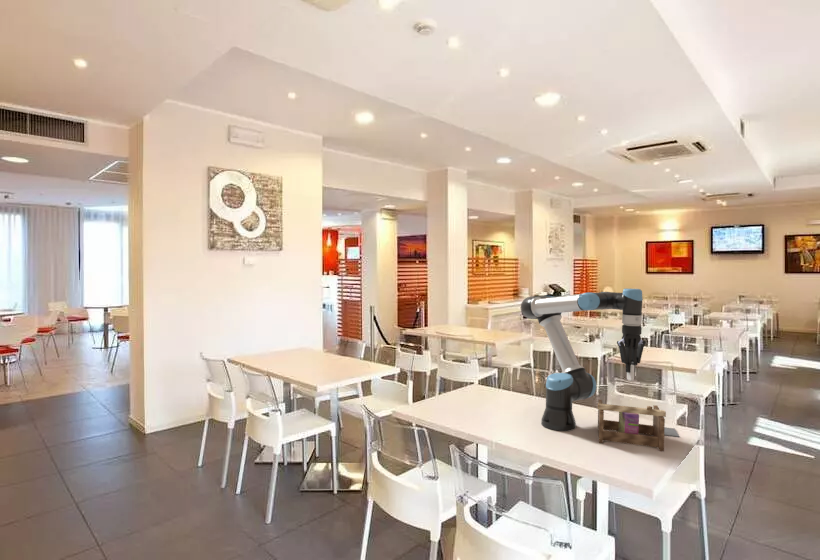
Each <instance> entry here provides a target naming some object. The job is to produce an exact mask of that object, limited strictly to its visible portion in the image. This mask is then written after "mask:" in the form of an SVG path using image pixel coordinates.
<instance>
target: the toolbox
mask: <svg viewBox="0 0 820 560" xmlns="http://www.w3.org/2000/svg"><path fill="white" fill-rule="evenodd" d="M598 403H600V404H604V403H603V399H598V401H597V404H598ZM652 409H656V410H660V408H659V406H658V405H655V404H654V405H653V406H652ZM604 415H605V410H599V409H598V408H597V436H598V443H599V444H604V441H605V442H613V443H614V442H615V443H621V444H629V445H635V446H643V447H644V446H645V447H650V448H651V447H652V448H658V451H659V452H664V451H665V435H664V428H665V427H666V425H665V423H666V419H665V417H662V416H653V415H652V424H645V423H643V424H642V423H639V429H638V434H631V433H623V432H618V429H619V420H618V421H617V420H609V419H608V420H607V419H604V418H605V417H604Z"/></svg>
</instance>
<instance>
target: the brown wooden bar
mask: <svg viewBox="0 0 820 560" xmlns="http://www.w3.org/2000/svg"><path fill="white" fill-rule="evenodd" d="M598 409H599V410H604V411H609V412H618V413H619V412H626V413H635V414H639V415H645V416H646V415H648V416H652V417H653V416H662V417H664V418H665V417H667V416H666V415H667V412H666V410H664V409H659V410H656V409H653V406H650V405H647V406H646V407H645V408H644V407H638V406H637V407H636V406H627V405H617V404H609V403H607V404H606V403H603V404H600V403H598V402H597V410H598Z"/></svg>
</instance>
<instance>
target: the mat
mask: <svg viewBox="0 0 820 560" xmlns="http://www.w3.org/2000/svg"><path fill="white" fill-rule="evenodd" d="M665 436H666V437H667V436H668V437H674V438H680V435H679V433H678V431H677V430H676V428H674V427H673V428H672V427H667V426H665V428H664V437H665Z"/></svg>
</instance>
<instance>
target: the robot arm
mask: <svg viewBox="0 0 820 560" xmlns="http://www.w3.org/2000/svg"><path fill="white" fill-rule="evenodd" d="M643 299H644V298H643V291H642V290H641V289H640V288H623V290H622V292H615V291H600V292H592V291H591V292H584V293H579V294H578V293H577V294H569V295H560V296H552V295H539V296H538V295H537V296H536V295H535V296H533V295H531V296H528V297H525V298H524V299H523V300H522V302H521V303H520V311H521V314H522V315H523V316H524V317H525V318H527V319H530V320H537V322H538V324H539V326H541V327H543V329H544V330H545V332H546V335H547V337H548V339H549V343H550V345H551V348H552V349H553V351H554V354H555V356H556V359H557V362H558V363H559V366H560V369H561V371H562V372H559V373H558V372H556V373H550V374H549V375H548V376H547V377H546V383H545V408H544V411H543V414H542V417H541V420H540V422H541V425H542V426H543V427H545V428H546V429H548V430H554V431H559V432H560V431H561V432H564V431H565V432H567V431H573V430H575V429H576V426H577V423H576V419H575V415H574V413H573V412H574V411H573V402H576V401H579V400H587V399H589V398H591V397H593V396H594V395H595V394H596V391H597V381H596V379H595V377H594V376H593V375H592V374H590V373H588V372H587V371H586V369H585V366H582V365H581V364H580V363H579V360H578V358H577V356H576V354H575V352H574V350H573V347H572V345H571V343H570V340H569V338H568V336H567V333H566V330H565V329H564V327H563V324H562V322H561V319H562V313H572V312H574V313H575V312H583V311H584V312H585V311H601V310H620V311H622V316H621V318H622V322H621V323H622V325H621V333H622V336H621V339H620V340H617V341H616V344H617V346H618V350H619V355H620V362H621V363H622V364H625V372H626V380H628V381H629V382H630V381H631V382H634V381H635V373H636V366H638V364H640V363H641V360H642V357H643V356H642V355H643V352H644V347H645V345H646V344H647V343H646V341H645V340H643V339H642V337H641V334H642V329H643V328H642V326H641V325H642V321H643V317H642V316H643V314H642V313H643Z"/></svg>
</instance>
